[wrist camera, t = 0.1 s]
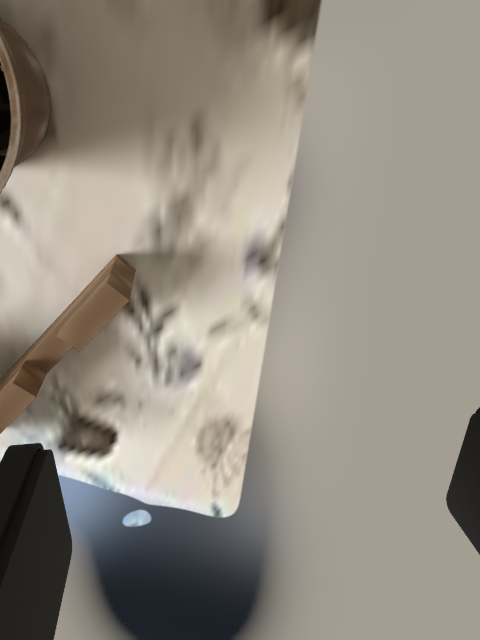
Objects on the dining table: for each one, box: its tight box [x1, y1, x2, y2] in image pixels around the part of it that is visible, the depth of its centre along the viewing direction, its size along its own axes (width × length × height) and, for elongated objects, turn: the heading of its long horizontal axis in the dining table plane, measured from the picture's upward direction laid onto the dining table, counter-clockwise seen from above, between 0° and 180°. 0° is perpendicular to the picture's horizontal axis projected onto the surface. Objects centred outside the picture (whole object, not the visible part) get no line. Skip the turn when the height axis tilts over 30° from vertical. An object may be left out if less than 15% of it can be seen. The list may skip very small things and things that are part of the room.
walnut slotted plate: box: [0, 255, 135, 434], centre depth 43 cm, size 2×20×8 cm, turn 134°
